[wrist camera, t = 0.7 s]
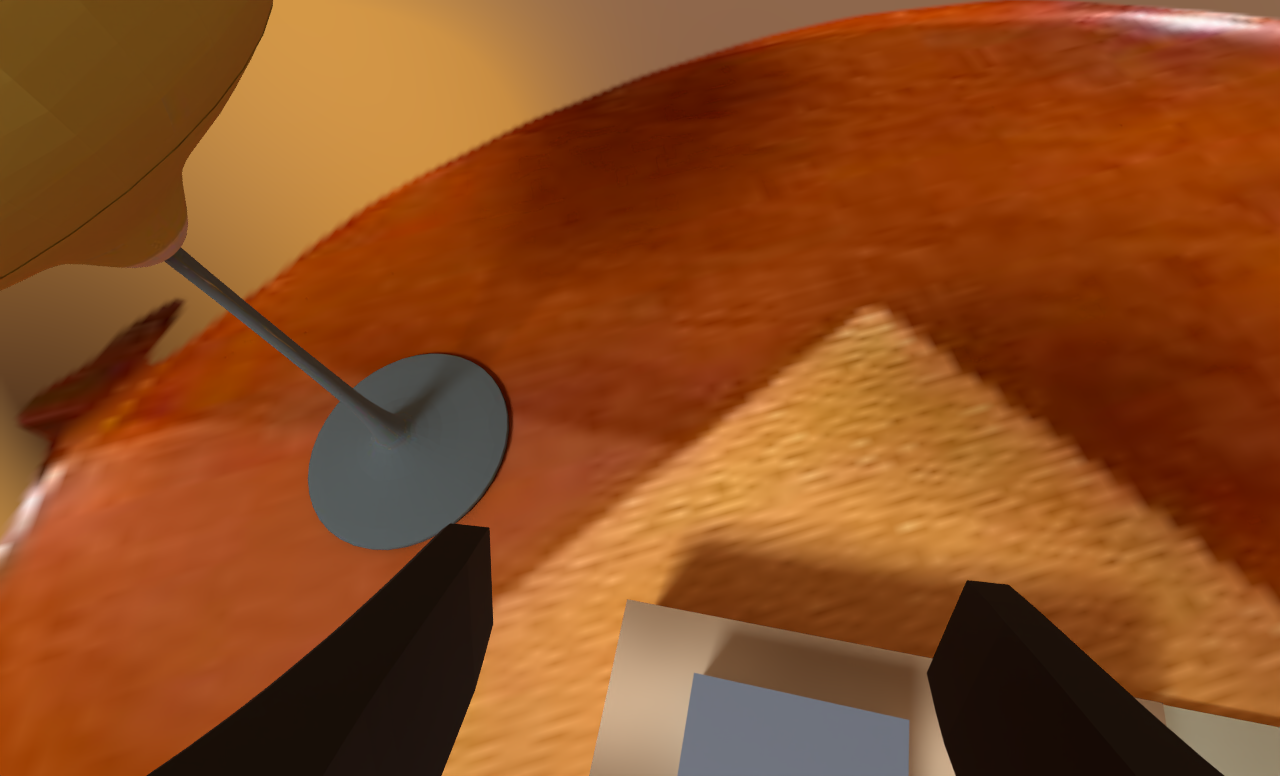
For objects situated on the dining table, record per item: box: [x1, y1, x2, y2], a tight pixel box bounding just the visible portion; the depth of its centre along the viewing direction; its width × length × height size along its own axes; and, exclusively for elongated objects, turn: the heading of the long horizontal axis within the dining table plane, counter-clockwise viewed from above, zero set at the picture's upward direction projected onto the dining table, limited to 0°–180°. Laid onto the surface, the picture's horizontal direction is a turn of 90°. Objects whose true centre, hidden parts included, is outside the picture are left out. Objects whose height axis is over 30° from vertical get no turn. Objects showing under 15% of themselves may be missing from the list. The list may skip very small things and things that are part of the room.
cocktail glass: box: [0, 0, 509, 550], centre depth 21 cm, size 18×18×25 cm
